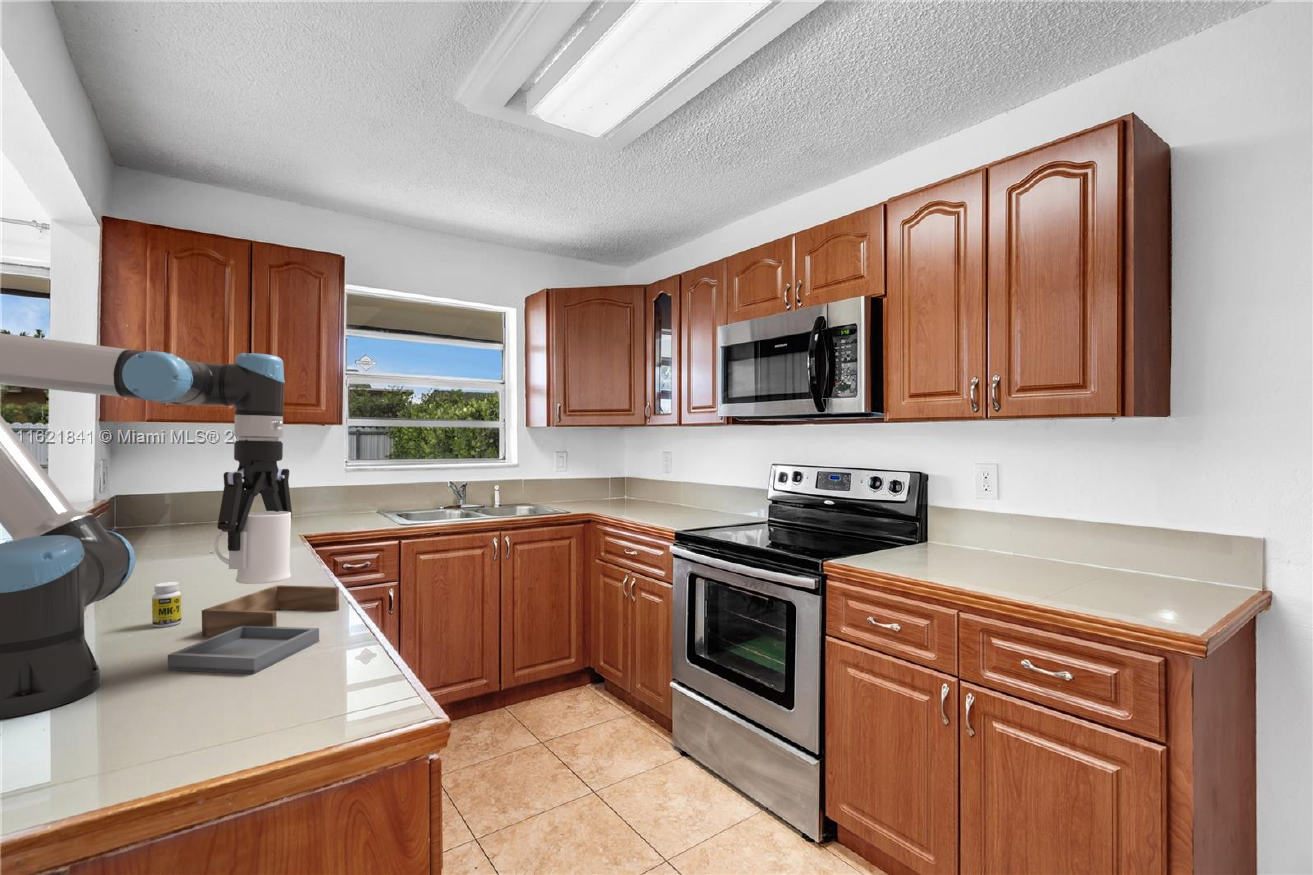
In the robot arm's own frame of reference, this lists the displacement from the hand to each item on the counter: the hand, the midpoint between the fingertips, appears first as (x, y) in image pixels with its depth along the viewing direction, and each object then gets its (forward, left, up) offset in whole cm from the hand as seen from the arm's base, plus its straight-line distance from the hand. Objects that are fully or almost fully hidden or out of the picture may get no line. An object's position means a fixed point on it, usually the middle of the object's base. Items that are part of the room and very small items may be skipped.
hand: (256, 563), depth 116 cm
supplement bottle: (+12, +30, -16) cm, 36 cm away
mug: (-1, 0, -3) cm, 3 cm away
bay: (+16, +8, -16) cm, 24 cm away
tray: (-3, -1, -16) cm, 16 cm away
